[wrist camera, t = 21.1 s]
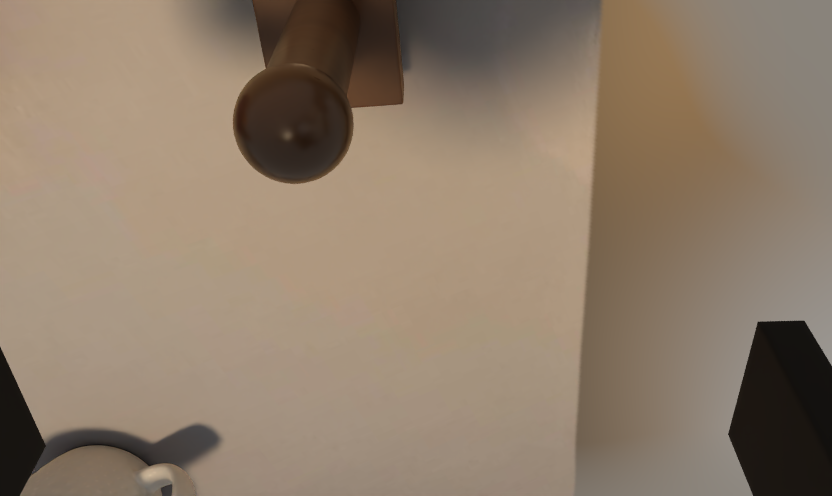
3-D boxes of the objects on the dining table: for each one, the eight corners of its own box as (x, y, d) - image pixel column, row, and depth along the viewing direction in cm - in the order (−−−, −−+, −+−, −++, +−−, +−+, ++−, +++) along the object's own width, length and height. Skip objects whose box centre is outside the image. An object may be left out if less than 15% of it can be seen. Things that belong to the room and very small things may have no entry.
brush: (256, -93, 33) (152, 27, 20) (388, -104, 33) (368, 10, 20) (287, 78, 37) (218, 266, 24) (405, 70, 37) (396, 255, 24)
